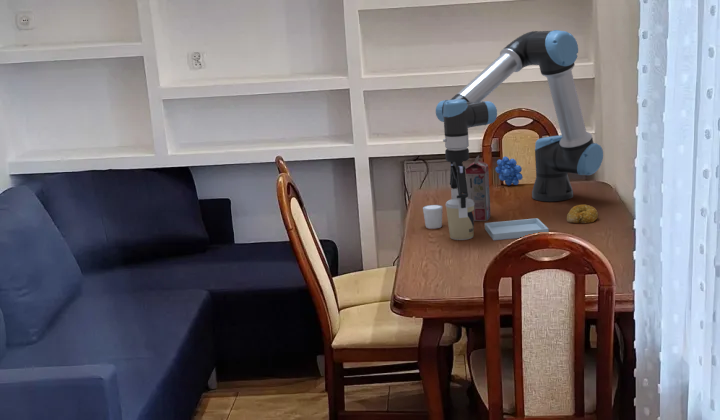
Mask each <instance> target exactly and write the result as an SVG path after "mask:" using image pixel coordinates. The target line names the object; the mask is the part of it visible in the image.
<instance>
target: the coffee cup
mask: <svg viewBox="0 0 720 420" xmlns="http://www.w3.org/2000/svg"><path fill="white" fill-rule="evenodd" d="M445 208H446V209H445V210H446V217H447V225H448V232H449V238H450V239H452V240H455V241H465V240H469V239H470V240H471V239H472V238H474V233H475V232H474V229H475V227H474V225H475V221H474V202H473V200H472V199H467V212H468V217H465V218H459V208H458V199H452V198H450V199H449V200H447V201H446V202H445Z"/></svg>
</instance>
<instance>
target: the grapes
mask: <svg viewBox="0 0 720 420" xmlns="http://www.w3.org/2000/svg"><path fill="white" fill-rule="evenodd" d="M496 165H497V166H496V167H495V169H494V170H495V172H496V174H498V180H500V181H503V182H505V184H506V185H507V186H511V185H512V184H513V185H515V186H518V185H519V183H520V181H521V180H523V178H524V177H523V174H522V173H521V172H522V170H523V169H522V168H523V167H521V165H519V164H517V161H516V159H515V158H509V157H508V156H503V157H502V159H497V161H496Z"/></svg>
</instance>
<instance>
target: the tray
mask: <svg viewBox="0 0 720 420" xmlns="http://www.w3.org/2000/svg"><path fill="white" fill-rule="evenodd" d="M484 230H485V231H486V233H487V234H488V235H489V236H490V238H491V239H492V240H493V241H500V240H502V241H503V240H510V239H511V240H512V239H520V237H523V236H525V235H528V234H533V233H538V232H549V233H550V229H549V227H547V225H546V224H544V223H543V222H542V221H541V220H540V219H539V218H528V219H527V218H526V219H514V220H506V221H505V220H504V221H493V222H484ZM523 238H524V237H523Z"/></svg>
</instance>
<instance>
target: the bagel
mask: <svg viewBox="0 0 720 420" xmlns="http://www.w3.org/2000/svg"><path fill="white" fill-rule="evenodd" d="M598 216H599V213H598V210H597V209H596V208H595V207H594V206H592V205H588V204H576V205H574V206H573V207H572V208H570V210H569V211H568V213H567V214H566V222H567V223H571V224H579V223H580V224H589V223H594V222H595V221H596V220H597V219H598Z"/></svg>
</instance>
